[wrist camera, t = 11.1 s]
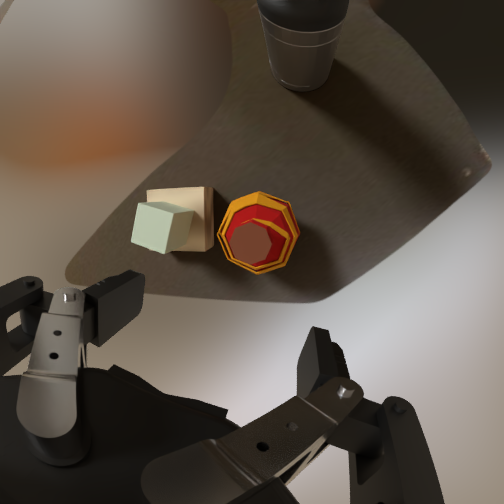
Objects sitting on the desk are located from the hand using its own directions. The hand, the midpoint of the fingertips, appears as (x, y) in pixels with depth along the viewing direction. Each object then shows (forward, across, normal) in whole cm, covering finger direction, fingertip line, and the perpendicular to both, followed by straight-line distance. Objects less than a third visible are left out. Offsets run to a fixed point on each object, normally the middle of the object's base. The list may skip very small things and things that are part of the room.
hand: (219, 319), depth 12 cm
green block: (+25, +13, +2) cm, 29 cm away
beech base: (+30, +13, +1) cm, 33 cm away
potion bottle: (+30, +1, 0) cm, 30 cm away
